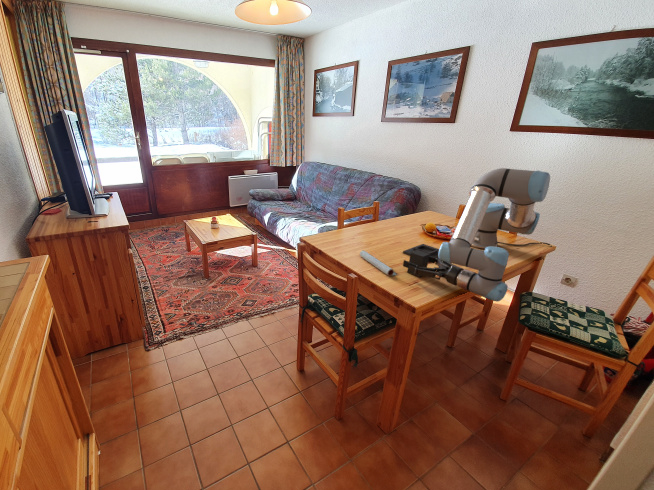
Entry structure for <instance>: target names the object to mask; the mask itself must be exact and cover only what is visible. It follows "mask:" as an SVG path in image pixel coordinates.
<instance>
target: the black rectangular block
mask: <svg viewBox="0 0 654 490" xmlns="http://www.w3.org/2000/svg"><path fill="white" fill-rule="evenodd" d="M429 255H430V254H428V253H425V252H422V251H419V250H416V251H413V252H411V254H410V256H409V261H408V262H411V263H413V264H416V265H418V267H427V268H428V265H429V262H428V260H429ZM407 273H408V274H410V275H413V276H415V277H417V278H421V277H422V276H420V275H416V274H414V273H415V271H414V270H411V269H409V268H407Z"/></svg>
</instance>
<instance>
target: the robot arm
mask: <svg viewBox="0 0 654 490" xmlns="http://www.w3.org/2000/svg"><path fill="white" fill-rule="evenodd" d="M550 182H551V174H550V172H547V171H542V170H528V169H527V170H526V169H517V168H515V169H514V168H506V167H505V168H504V167H501V168H495V169H493V170H490V171H488V172H486V173H484V174H483V175H481V176H480V177H479V178H478V179H477V180H476V181H474V183H473V184H472V186H471V187H470V190H469V192H468V195H469V198H468V200H467V203H466V205H465V206H464V209H463V211H462V213H461V216H460V218H459V220H458V223H457V224H456V227H455V228H454V231H453V233H452V236H451V238H450V240H449V242H447V241H443V242H442V243H441V245H440V246H439V248H438V249H439V253H438V257H439V258H435V257H432V256H429V260H428V263H431V264H434V265H436V266H434V267H428V266H427V267H418V265H416V264H413V263H411V262H409V261H408V260H405V259H404V260H403V263H402V267H403V268H406V269H408V268H409V269H411V270H414V271H415V273H414V274H416V275H420V276H421V277H426V278H429V279H430V278H431V279H435V280H437V281H441V278H443V279H445V281H446V283H448V284H450V285H453V286H455V287H456V286H457V287H458V288H460V289H463V290H464V291H468V292H470V293H472V294H475V295H478V296H480V297H483V298H484V299H487V300H491V301H493V302H497V303H498V302H500V301H502V300H503V299H504V297H505V296H506V294H507V292H508V288H509V287H508V284H507V283H505V282H504V281H503V276H504V274H505V271H506V268H507V266H508V261H509V257H510V253H509V251H508V250H507V249H505V248H504V247H500V246H498V244H500V245H506V246H515V247H521V246H522V247H525V246H529V245H547V246H549V245H551V244H550V243H548V242H540V241H539V242H540V243H539V242H528V243H525V244H518V243H517V244H515V243H506V242H502V241H498V231H505V232H510V233H517V234H520V235H527V236H529V235H532V234H533V233H534V231H535V229H536V227H537V225H538V223H539V220H540V217H541V215H540V213H539V212H537V211H535V209H534V208H535V206H536V205H535V204H536V203H541V202H543V201H545V199H546V197H547V194H548V191H549V188H550ZM496 197H497V198H498V197H499V198H506V199H508V201H509V202H510V206H509V207H506V206H505V204H503V203H500V202H492V201H494V200H495V198H496ZM542 243H543V244H542ZM549 247H553V246H552V245H551V246H549ZM457 265H458V266H457ZM460 266H462V267H460ZM463 267H466V268H469V269H473V270H476V271H478V272H475V271H472V270H469V269H465V268H463Z"/></svg>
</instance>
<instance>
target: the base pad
mask: <svg viewBox="0 0 654 490" xmlns="http://www.w3.org/2000/svg"><path fill="white" fill-rule="evenodd" d="M439 249H440V248H438V247H434V246H432V245H428V244H426V243H422V244H418V245H416V246H413V247H411V248H408V249H405V250H403V251H402V254H404V255H407V256H409V257H410V254H411V252H413V251H416V250H419V251H422V252H425V253H428V254H430V255H429V256H432V257H435V258H439V257H438V253H439Z"/></svg>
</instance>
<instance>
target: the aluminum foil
mask: <svg viewBox="0 0 654 490" xmlns="http://www.w3.org/2000/svg"><path fill="white" fill-rule="evenodd" d="M359 256H360V257H361V258H362V259H363V260H365V261H367V262H368V263H369V264H371V265H372V266H373V267H375V268H377V269H378V270H379V271H381V272H382V273H383V274H385V275H386V276H389V277H392V276H397V275H398V273H396V272H395V270H394V269H393V268H391V267H390V266H389V265H387V264H385V263H383V262H382V261H381V260H379V259H378V258H376V257H375V256H373V255H372V254H370V253H369V252H367V251H366V250H361V251H360V252H359Z"/></svg>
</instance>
